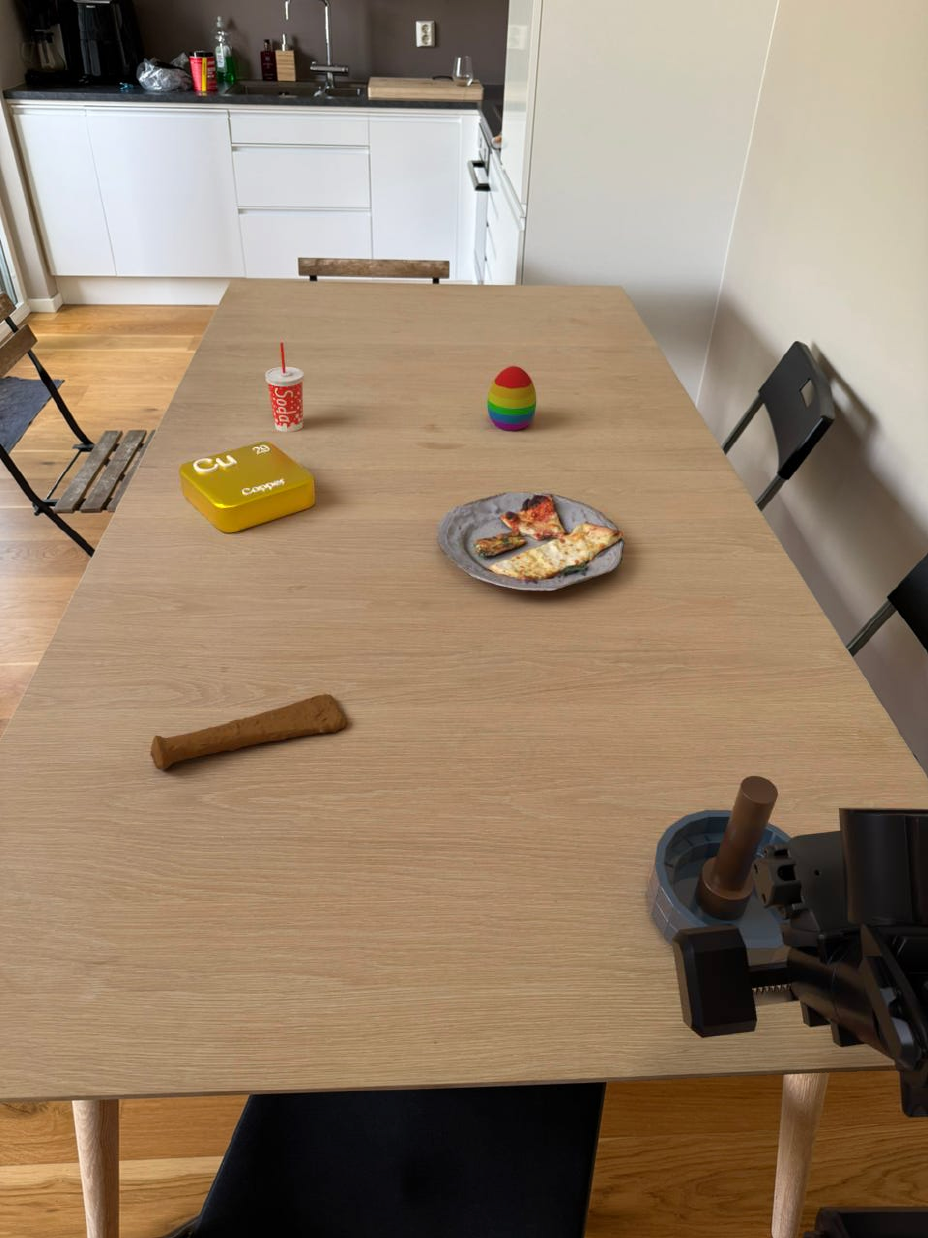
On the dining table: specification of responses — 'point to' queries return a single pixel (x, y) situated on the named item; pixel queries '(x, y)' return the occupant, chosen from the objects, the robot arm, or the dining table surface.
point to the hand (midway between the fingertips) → (774, 942)
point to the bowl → (679, 876)
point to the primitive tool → (252, 730)
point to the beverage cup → (286, 396)
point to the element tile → (247, 486)
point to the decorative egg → (512, 399)
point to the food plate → (530, 540)
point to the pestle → (737, 852)
